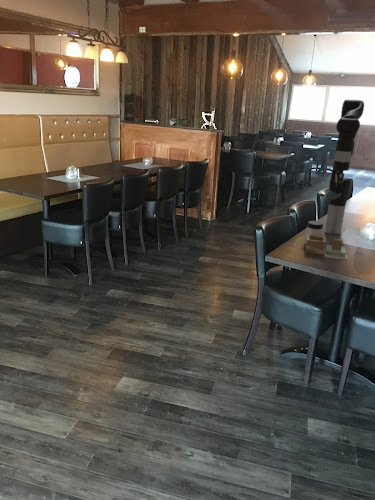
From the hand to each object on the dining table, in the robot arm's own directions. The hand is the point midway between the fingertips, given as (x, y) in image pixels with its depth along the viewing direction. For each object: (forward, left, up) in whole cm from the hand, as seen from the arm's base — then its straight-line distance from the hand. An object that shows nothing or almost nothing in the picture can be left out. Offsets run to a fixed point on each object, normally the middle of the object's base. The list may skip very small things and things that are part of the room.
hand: (336, 192), depth 212 cm
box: (+10, -7, -30) cm, 32 cm away
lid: (+10, +3, -30) cm, 32 cm away
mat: (+10, +3, -30) cm, 32 cm away
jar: (-3, -8, -30) cm, 31 cm away
